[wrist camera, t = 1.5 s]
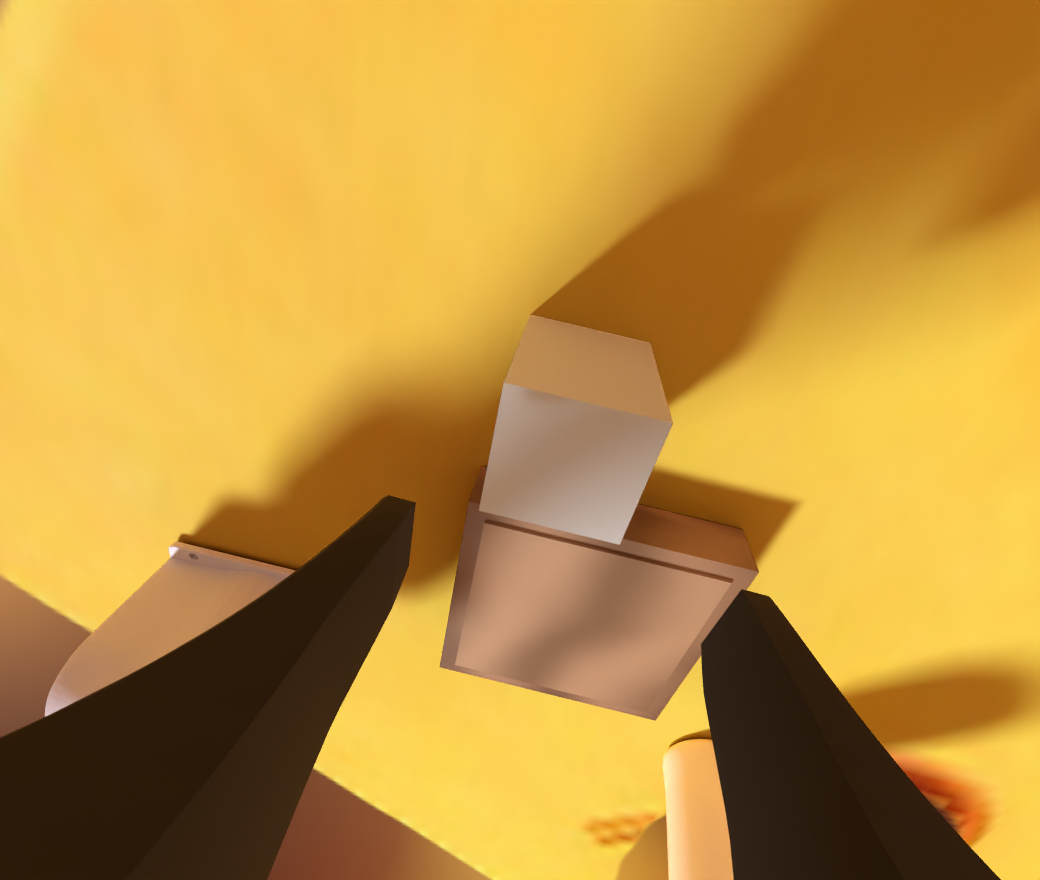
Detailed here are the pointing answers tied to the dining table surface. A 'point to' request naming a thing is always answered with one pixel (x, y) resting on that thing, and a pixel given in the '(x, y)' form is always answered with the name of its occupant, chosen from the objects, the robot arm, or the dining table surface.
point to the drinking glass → (695, 814)
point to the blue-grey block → (576, 430)
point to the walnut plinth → (591, 604)
